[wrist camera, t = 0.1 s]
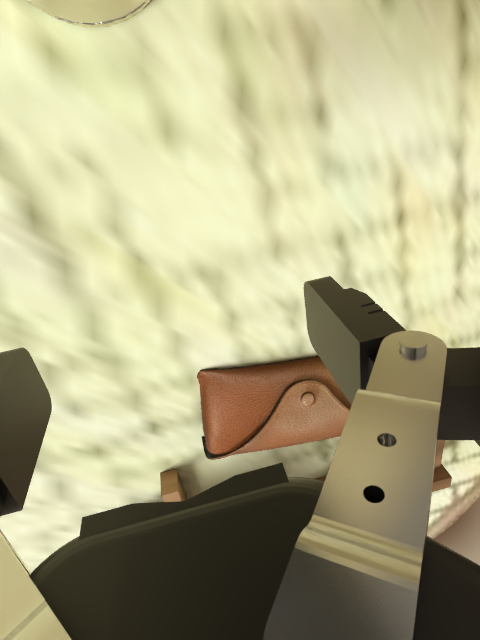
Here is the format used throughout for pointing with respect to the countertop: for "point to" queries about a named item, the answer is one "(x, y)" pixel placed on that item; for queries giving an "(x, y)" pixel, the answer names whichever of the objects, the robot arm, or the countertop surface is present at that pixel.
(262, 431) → the sunglasses case
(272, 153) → the countertop surface
